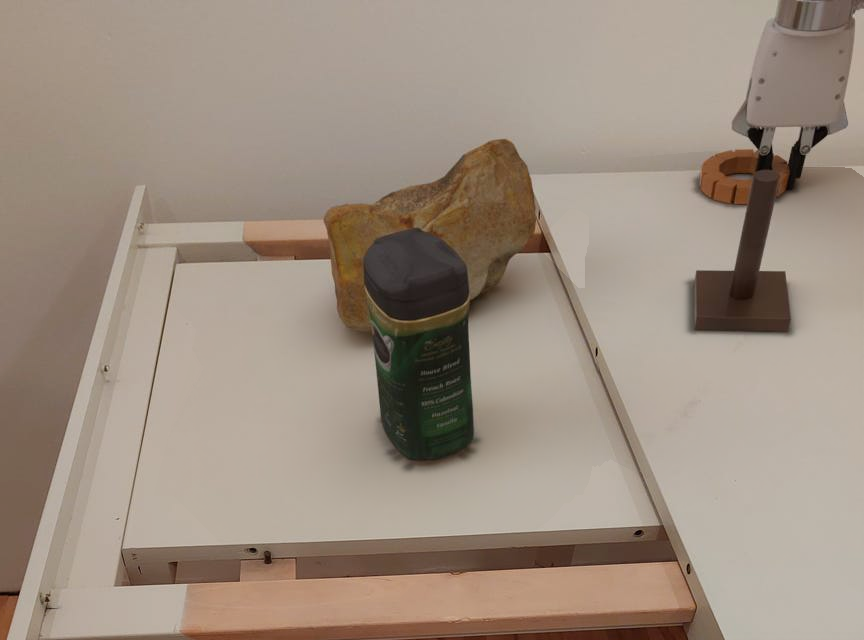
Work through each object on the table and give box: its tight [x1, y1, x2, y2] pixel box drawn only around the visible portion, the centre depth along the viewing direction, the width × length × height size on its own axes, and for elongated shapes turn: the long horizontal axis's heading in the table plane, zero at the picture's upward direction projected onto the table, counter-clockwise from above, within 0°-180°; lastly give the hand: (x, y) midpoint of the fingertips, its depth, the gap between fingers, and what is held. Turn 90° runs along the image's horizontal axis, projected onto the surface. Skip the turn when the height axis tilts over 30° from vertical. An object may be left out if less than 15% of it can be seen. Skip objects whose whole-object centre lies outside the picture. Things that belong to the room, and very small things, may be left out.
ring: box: [699, 148, 790, 205], centre depth 112 cm, size 10×10×2 cm
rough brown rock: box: [323, 138, 537, 335], centre depth 100 cm, size 23×17×15 cm
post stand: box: [693, 170, 792, 333], centre depth 92 cm, size 9×9×14 cm
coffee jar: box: [363, 227, 475, 462], centre depth 82 cm, size 10×8×19 cm
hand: (775, 182), depth 112 cm, fingers closed on ring, 2 cm apart
